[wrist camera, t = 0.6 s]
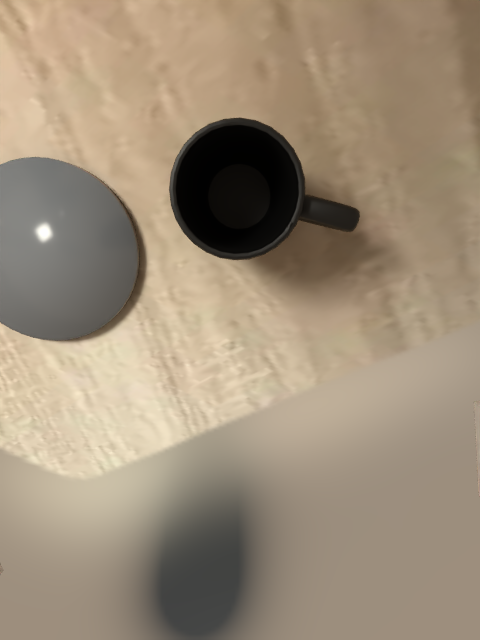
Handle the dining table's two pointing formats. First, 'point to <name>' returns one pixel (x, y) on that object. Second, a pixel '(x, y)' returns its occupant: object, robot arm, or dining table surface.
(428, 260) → the dining table surface
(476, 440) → the robot arm
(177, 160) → the mug
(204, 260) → the dining table surface
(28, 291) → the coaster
